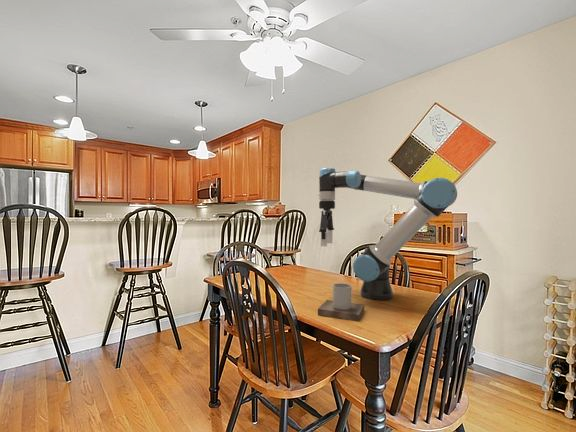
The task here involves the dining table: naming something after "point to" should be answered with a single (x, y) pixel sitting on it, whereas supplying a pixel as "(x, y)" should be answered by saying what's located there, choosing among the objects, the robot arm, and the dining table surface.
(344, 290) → the cup
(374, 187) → the robot arm
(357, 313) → the board
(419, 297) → the dining table surface
